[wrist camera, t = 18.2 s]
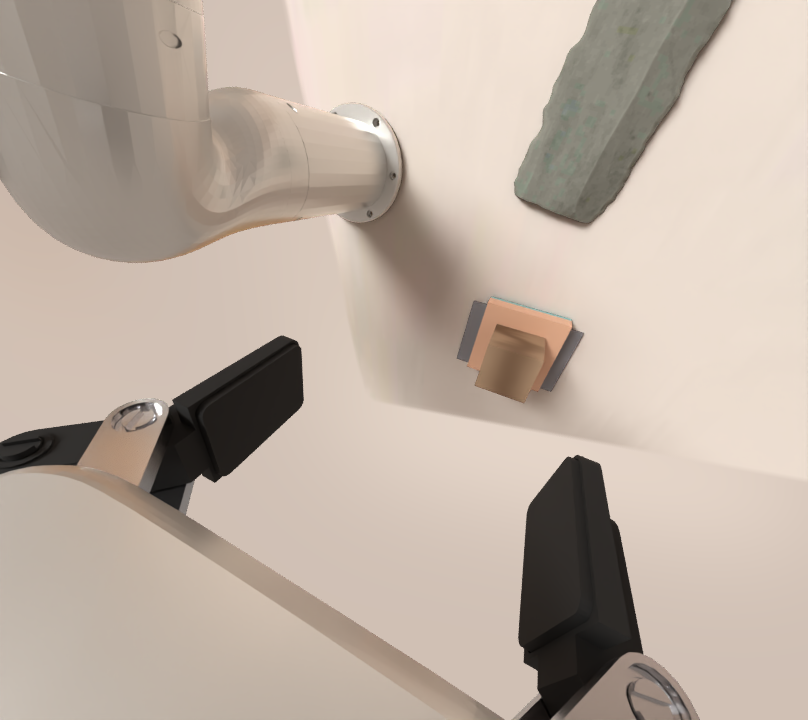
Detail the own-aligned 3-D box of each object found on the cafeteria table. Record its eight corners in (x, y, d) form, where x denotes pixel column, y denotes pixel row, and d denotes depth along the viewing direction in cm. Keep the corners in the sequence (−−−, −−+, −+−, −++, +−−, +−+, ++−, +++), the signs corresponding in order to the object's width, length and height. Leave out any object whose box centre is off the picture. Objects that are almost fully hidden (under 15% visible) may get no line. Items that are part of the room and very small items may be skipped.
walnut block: (483, 362, 41) (474, 385, 37) (496, 323, 38) (488, 344, 33) (527, 376, 40) (523, 403, 35) (545, 338, 36) (543, 361, 32)
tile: (491, 296, 39) (470, 358, 45) (488, 302, 37) (466, 366, 43) (571, 319, 36) (538, 382, 42) (572, 327, 34) (537, 391, 40)
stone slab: (511, 197, 34) (598, 227, 31) (505, 196, 32) (598, 229, 29) (653, -142, 21) (825, -144, 18) (658, -179, 19) (852, -188, 16)
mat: (457, 357, 46) (456, 358, 46) (474, 300, 40) (473, 301, 40) (550, 390, 42) (550, 391, 42) (583, 332, 37) (583, 334, 37)
